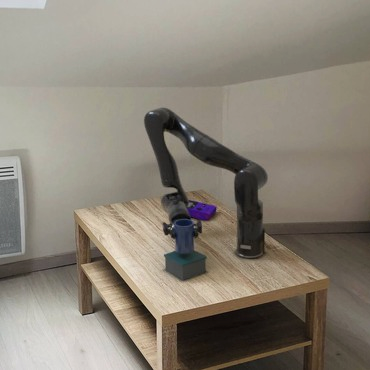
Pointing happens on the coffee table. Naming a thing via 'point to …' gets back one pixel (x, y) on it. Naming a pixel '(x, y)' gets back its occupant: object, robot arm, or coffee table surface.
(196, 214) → the handheld gaming console
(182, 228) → the cup
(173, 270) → the container
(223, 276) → the coffee table surface
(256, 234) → the robot arm
